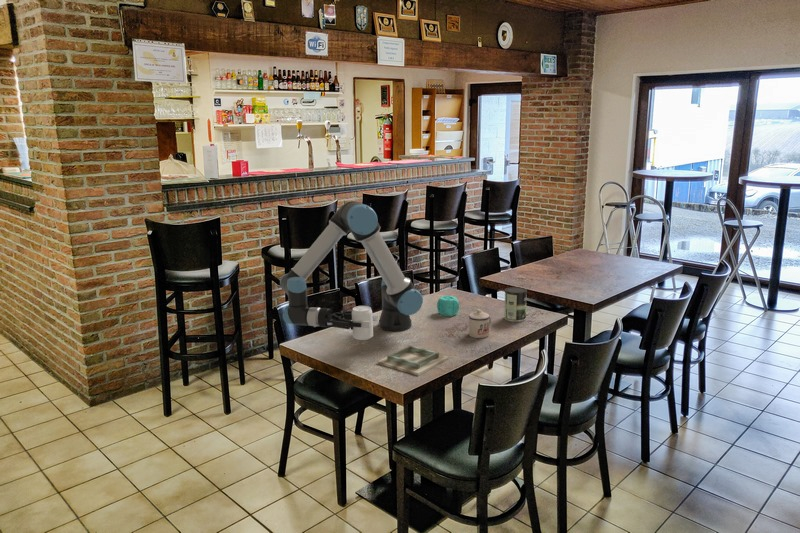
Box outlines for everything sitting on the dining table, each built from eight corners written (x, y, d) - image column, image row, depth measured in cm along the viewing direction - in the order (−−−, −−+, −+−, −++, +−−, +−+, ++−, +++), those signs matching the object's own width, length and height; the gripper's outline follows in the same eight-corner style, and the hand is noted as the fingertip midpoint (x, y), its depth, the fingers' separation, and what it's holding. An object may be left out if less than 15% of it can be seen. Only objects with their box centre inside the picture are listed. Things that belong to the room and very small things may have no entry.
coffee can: (525, 315, 293) (526, 287, 290) (526, 322, 283) (527, 293, 280) (503, 314, 295) (504, 286, 292) (504, 321, 285) (504, 292, 282)
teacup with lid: (479, 340, 262) (479, 314, 259) (464, 334, 269) (464, 309, 266) (498, 333, 269) (498, 308, 267) (482, 328, 276) (483, 304, 273)
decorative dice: (445, 317, 293) (445, 301, 291) (436, 312, 300) (436, 297, 298) (459, 314, 296) (459, 298, 295) (450, 310, 303) (450, 294, 301)
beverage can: (376, 338, 240) (374, 309, 237) (356, 342, 237) (355, 312, 234) (369, 332, 247) (368, 304, 245) (350, 335, 245) (348, 307, 242)
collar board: (377, 363, 239) (377, 356, 238) (408, 348, 254) (408, 341, 253) (418, 375, 227) (418, 368, 226) (448, 358, 242) (448, 351, 241)
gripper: (331, 318, 257) (382, 321, 250) (309, 334, 237) (364, 339, 230) (330, 300, 255) (382, 304, 248) (308, 316, 236) (363, 320, 229)
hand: (373, 321), depth 239 cm, fingers closed on beverage can, 8 cm apart
